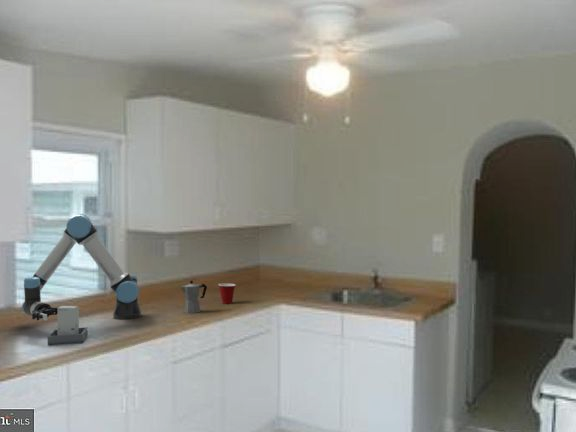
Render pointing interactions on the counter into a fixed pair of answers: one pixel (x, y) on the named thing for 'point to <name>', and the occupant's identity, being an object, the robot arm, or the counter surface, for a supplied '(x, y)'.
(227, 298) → the plastic cup
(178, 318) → the counter surface
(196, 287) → the coffeepot
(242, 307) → the counter surface
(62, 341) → the bin
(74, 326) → the skincare box
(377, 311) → the counter surface
